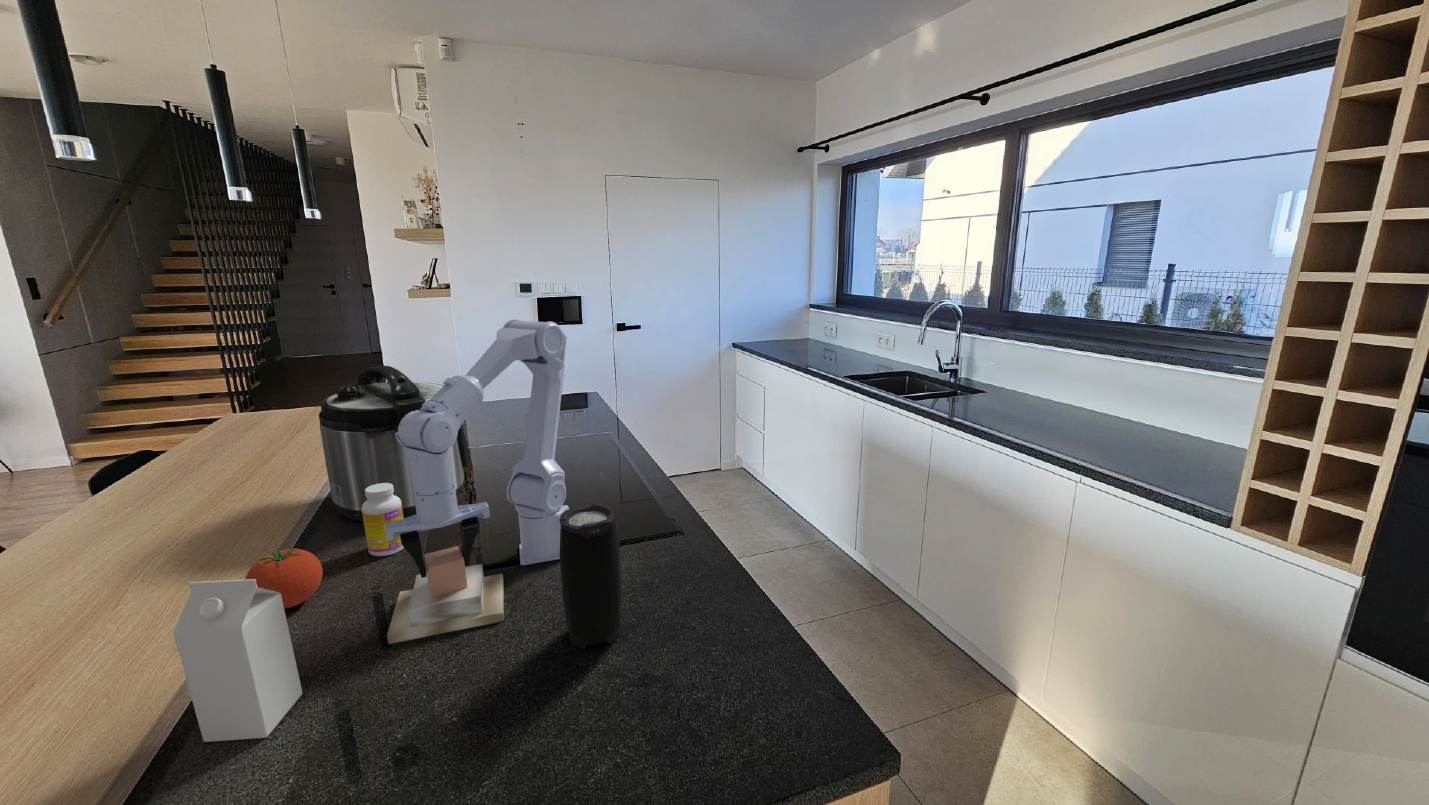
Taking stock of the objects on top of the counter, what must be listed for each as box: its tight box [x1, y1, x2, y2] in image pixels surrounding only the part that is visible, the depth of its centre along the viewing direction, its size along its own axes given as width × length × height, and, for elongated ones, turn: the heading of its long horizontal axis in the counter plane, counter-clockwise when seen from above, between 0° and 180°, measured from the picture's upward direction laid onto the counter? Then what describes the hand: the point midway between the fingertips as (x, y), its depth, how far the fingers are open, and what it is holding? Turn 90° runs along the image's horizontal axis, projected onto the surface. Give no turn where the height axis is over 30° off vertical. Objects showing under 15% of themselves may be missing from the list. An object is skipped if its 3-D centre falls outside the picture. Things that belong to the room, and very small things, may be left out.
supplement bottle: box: [362, 483, 405, 557], centre depth 111 cm, size 7×7×13 cm
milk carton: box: [173, 578, 303, 743], centre depth 69 cm, size 7×7×19 cm
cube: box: [423, 545, 467, 597], centre depth 91 cm, size 5×5×5 cm
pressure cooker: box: [318, 365, 470, 522], centre depth 131 cm, size 30×28×32 cm
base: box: [386, 563, 505, 645], centre depth 92 cm, size 16×12×4 cm
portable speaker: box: [559, 502, 623, 650], centre depth 84 cm, size 9×9×20 cm
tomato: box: [244, 547, 324, 610], centre depth 93 cm, size 10×10×10 cm
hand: (445, 568), depth 91 cm, fingers open, 6 cm apart
